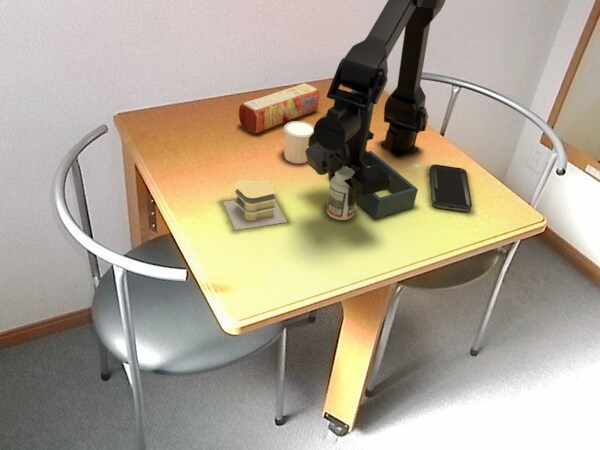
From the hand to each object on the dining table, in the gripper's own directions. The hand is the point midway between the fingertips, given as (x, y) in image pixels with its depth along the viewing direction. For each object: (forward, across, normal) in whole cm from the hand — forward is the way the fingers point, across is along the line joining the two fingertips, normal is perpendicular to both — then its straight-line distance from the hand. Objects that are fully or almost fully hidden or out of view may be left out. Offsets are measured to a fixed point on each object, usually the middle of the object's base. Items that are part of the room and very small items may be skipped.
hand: (342, 197), depth 118 cm
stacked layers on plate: (+4, -7, -15) cm, 17 cm away
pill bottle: (+4, 0, 0) cm, 4 cm away
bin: (+4, -3, +10) cm, 11 cm away
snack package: (+4, -37, +8) cm, 38 cm away
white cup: (+4, -21, +3) cm, 21 cm away
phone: (+4, +3, +26) cm, 26 cm away
